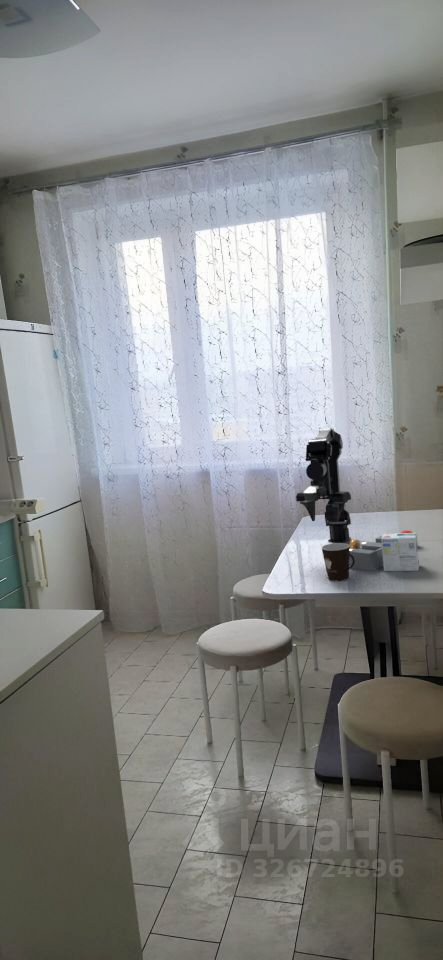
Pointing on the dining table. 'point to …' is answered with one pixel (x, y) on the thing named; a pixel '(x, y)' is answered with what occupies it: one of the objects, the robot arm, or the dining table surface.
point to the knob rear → (356, 544)
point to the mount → (368, 556)
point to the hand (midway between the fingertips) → (324, 521)
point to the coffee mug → (337, 561)
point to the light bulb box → (400, 552)
